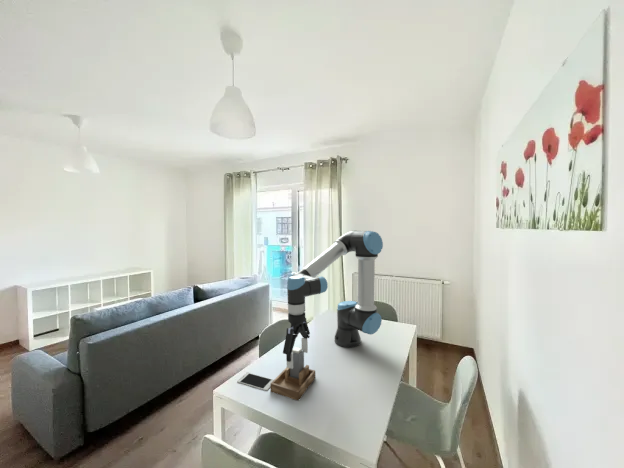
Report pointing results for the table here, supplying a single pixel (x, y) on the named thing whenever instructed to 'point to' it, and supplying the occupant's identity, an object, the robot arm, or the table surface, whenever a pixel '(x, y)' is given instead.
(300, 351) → the grey rectangular block
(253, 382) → the smartphone
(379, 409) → the table surface
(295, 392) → the box
